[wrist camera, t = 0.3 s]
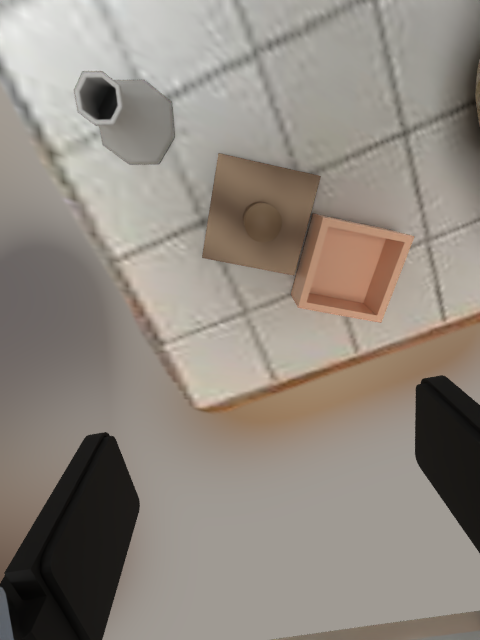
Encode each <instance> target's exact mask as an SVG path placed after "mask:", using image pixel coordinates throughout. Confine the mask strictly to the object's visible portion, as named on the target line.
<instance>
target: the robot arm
mask: <svg viewBox="0 0 480 640" xmlns="http://www.w3.org/2000/svg"><path fill="white" fill-rule="evenodd" d="M415 425H416V426H415V455H416V460H417V463H418V464H419V466H420V468H421V470H422V471H423V472H424V474H425V475H426V477H427V478H428V480H429V481H430V482H431V484H432V485H433V487H434V488H435V490H436V491H437V492H438V494H439V495H440V497H441V498H442V500H443V501H444V502H445V504H446V505H447V507H448V508H449V510H450V511H451V513H452V514H453V515H454V517H455V518H456V520H457V521H458V523H459V524H460V525H461V527H462V528H463V530H464V531H465V533H466V534H467V535H468V537H469V538H470V540H471V541H472V543H473V544H474V546H475V547H476V548H477V550H478V551H479V553H480V405H479V404H478V403H476V402H475V401H474V400H473V399H472V398H471V397H469V396H468V395H467V394H466V393H465V392H463V391H462V390H461V389H460V388H459V387H458V386H456V385H455V384H454V383H453V382H451V381H450V380H449V379H448V378H447V377H445V376H436V377H430V378H424V379H422V381H421V384H419V385H417V386H416V421H415ZM139 504H140V503H139V498H138V495H137V492H136V490H135V487H134V485H133V482H132V480H131V477H130V475H129V472H128V470H127V467H126V464H125V462H124V459H123V457H122V454H121V452H120V449H119V447H118V444H117V441H116V439H115V438H114V437H113V436H109V434H108V433H106V432H105V433H99V434H92V435H88V436H86V437H85V439H84V440H83V442H82V443H81V445H80V447H79V449H78V450H77V452H76V453H75V455H74V457H73V459H72V460H71V462H70V464H69V465H68V467H67V469H66V470H65V472H64V474H63V475H62V477H61V479H60V480H59V482H58V484H57V485H56V487H55V489H54V490H53V492H52V494H51V495H50V497H49V499H48V500H47V502H46V504H45V506H44V507H43V509H42V511H41V512H40V514H39V516H38V517H37V519H36V521H35V522H34V524H33V526H32V527H31V529H30V531H29V532H28V534H27V536H26V538H25V539H24V541H23V543H22V544H21V546H20V547H19V549H18V551H17V553H16V554H15V556H14V558H13V559H12V561H11V563H10V564H9V566H8V568H7V569H6V571H5V577H4V578H3V580H2V581H1V583H0V640H102V638H103V635H104V632H105V628H106V625H107V621H108V617H109V614H110V610H111V607H112V603H113V600H114V597H115V593H116V590H117V586H118V583H119V579H120V576H121V572H122V569H123V565H124V562H125V558H126V555H127V551H128V548H129V544H130V541H131V537H132V533H133V530H134V527H135V523H136V520H137V516H138V513H139V507H140V505H139ZM272 640H480V611H474V612H466V613H460V614H451V615H444V616H437V617H429V618H422V619H415V620H407V621H400V622H393V623H385V624H378V625H371V626H364V627H357V628H350V629H342V630H335V631H328V632H321V633H314V634H307V635H300V636H293V637H286V638H279V639H272Z"/></svg>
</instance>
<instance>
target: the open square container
mask: <svg viewBox="0 0 480 640" xmlns="http://www.w3.org/2000/svg"><path fill="white" fill-rule="evenodd" d="M413 239H414V236H411V235H408V234H404V233H400V232H397V231H393V230H388V229H384V228H379V227H374V226H370V225H365V224H360V223H355V222H351V221H346V220H341V219H337V218H332V217H327V216H323V215H318V214H313V213H312V217H311V220H310V224H309V228H308V232H307V235H306V239H305V243H304V246H303V250H302V254H301V258H300V261H299V265H298V269H297V273H296V276H295V280H294V284H293V288H292V291H291V296H292V298H293V299H294V301H295V303H296V305H297V307H298V308H303V309H308V310H314V311H319V312H325V313H330V314H336V315H341V316H347V317H352V318H357V319H363V320H368V321H374V322H379V323H381V322H382V319H383V317H384V314H385V312H386V309H387V306H388V304H389V301H390V299H391V296H392V293H393V291H394V288H395V286H396V283H397V280H398V278H399V275H400V273H401V270H402V268H403V265H404V262H405V260H406V257H407V255H408V252H409V249H410V247H411V244H412V242H413Z"/></svg>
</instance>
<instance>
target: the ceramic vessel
mask: <svg viewBox="0 0 480 640" xmlns="http://www.w3.org/2000/svg"><path fill="white" fill-rule="evenodd" d="M475 97H476V105H477V113H478V119H479V125H480V60H479V64H478V69H477V78H476V93H475Z"/></svg>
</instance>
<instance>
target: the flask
mask: <svg viewBox="0 0 480 640" xmlns="http://www.w3.org/2000/svg"><path fill="white" fill-rule="evenodd" d="M74 94H75V100H76V105H77V111H78V113H80V114H81V115H82V116H84V117H85V118H86V119H88V120H89V121H90V122H92V123H93V124H94V125H96V126H99V128H100V132H101V138H102V144H103V146H105V147H106V148H108V149H109V150H110V151H112V152H113V153H114V154H116V155H117V156H119V157H120V158H121V159H123V160H124V161H125V162H127V163H128V164H159V163H160V161H161V160H162V158H163V156H164V154H165V153H166V151H167V149H168V148H169V146H170V144H171V142H172V141H173V139H174V125H173V112H172V102H171V101H170V100H169V99H167V98H166V97H165V96H164V95H162V94H161V93H160V92H159V91H158V90H156V89H155V88H154V87H153V86H151V85H150V84H149V83H148V82H146V81H145V80H113V79H112V78H110V77H109V76H108V75H107V74H105V73H104V72H103V71H82V73H81V75H80V78H79V80H78V82H77V84H76V86H75V88H74Z"/></svg>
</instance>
